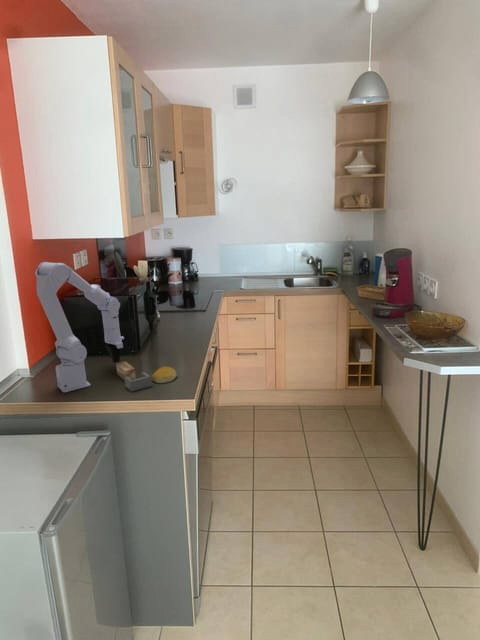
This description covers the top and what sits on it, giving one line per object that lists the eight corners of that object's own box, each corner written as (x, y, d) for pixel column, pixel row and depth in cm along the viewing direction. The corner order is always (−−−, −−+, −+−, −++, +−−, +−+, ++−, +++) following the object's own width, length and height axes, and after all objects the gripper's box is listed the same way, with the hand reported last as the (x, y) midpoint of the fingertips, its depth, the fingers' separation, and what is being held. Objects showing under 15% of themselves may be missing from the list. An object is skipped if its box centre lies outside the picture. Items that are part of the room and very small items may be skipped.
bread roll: (148, 383, 165) (147, 373, 164) (159, 374, 174) (158, 364, 173) (170, 384, 163) (169, 373, 162) (180, 375, 172) (179, 364, 170)
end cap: (131, 391, 158) (130, 381, 157) (125, 386, 163) (124, 377, 162) (152, 385, 162) (151, 376, 161) (145, 381, 167) (144, 372, 166)
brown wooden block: (126, 382, 167) (125, 370, 166) (117, 374, 175) (116, 363, 174) (136, 380, 169) (134, 368, 168) (126, 372, 177) (125, 361, 176)
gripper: (128, 329, 172) (133, 364, 176) (115, 322, 184) (119, 354, 187) (110, 333, 168) (115, 368, 172) (97, 325, 180) (102, 358, 184)
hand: (116, 361), depth 179 cm, fingers closed
